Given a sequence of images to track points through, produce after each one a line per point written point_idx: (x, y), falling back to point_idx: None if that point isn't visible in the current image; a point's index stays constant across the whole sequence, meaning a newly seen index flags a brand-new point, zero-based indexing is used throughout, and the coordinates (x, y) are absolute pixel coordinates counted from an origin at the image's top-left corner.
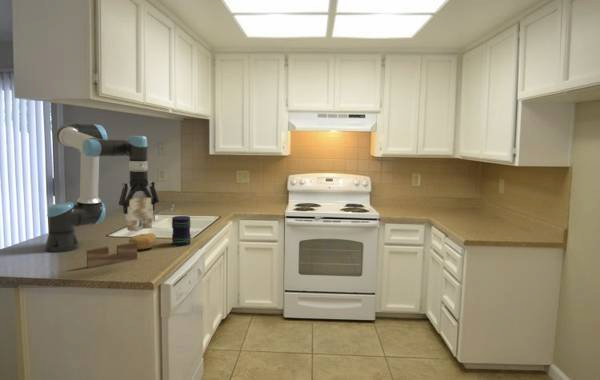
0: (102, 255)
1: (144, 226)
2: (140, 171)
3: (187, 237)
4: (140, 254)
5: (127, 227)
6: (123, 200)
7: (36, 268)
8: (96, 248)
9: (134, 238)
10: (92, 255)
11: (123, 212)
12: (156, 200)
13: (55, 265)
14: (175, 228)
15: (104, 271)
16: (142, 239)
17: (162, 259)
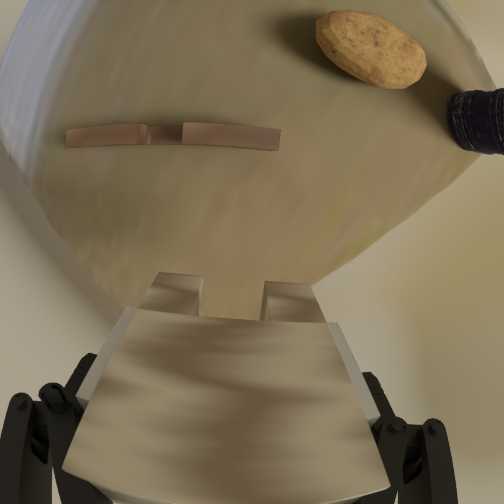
0: (124, 144)
1: (262, 314)
2: None
3: (485, 153)
4: (313, 105)
5: (155, 282)
6: (41, 466)
7: (30, 70)
8: (96, 132)
9: (337, 36)
10: (89, 146)
11: (82, 358)
12: (403, 464)
13: (60, 62)
14: (491, 122)
15: (120, 212)
16: (362, 62)
17: (327, 225)
